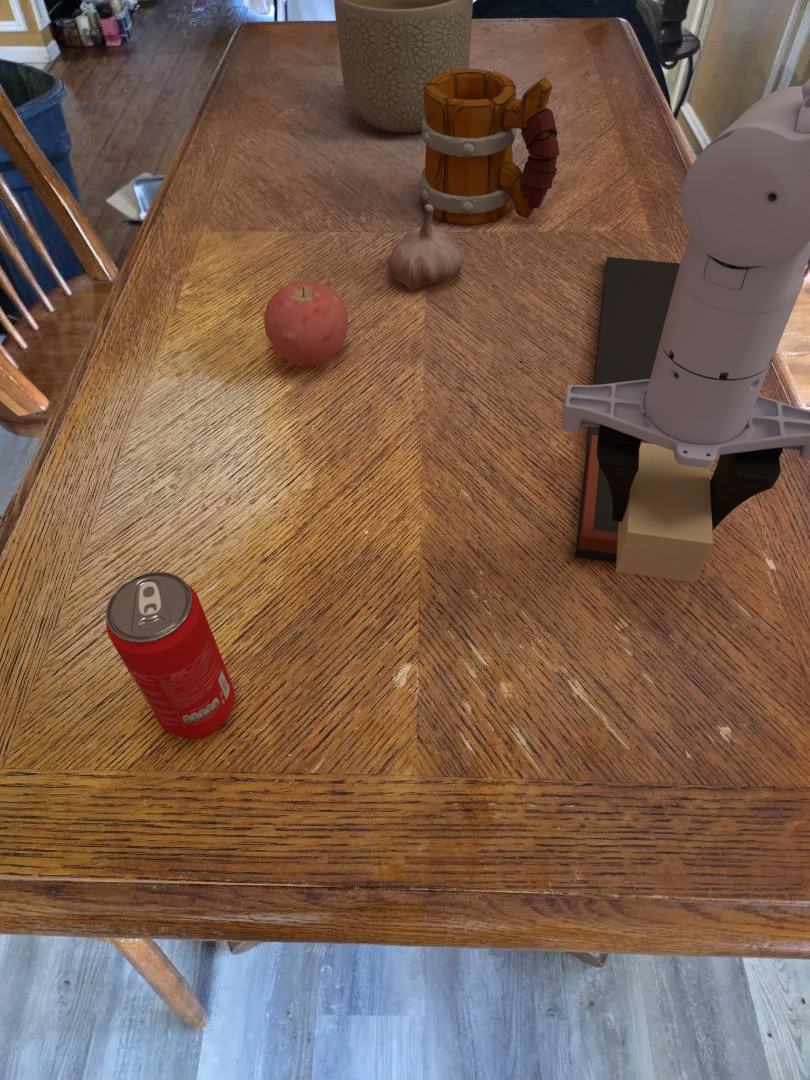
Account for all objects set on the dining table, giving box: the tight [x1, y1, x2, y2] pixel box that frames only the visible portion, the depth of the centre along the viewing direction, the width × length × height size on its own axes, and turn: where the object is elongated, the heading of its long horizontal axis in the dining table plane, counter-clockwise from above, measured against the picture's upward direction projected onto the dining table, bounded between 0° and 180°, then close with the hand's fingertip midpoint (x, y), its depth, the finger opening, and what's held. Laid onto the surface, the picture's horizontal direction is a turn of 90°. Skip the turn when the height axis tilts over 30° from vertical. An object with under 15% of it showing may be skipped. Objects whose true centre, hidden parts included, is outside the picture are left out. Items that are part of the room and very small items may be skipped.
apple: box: [263, 280, 349, 368], centre depth 74 cm, size 7×7×8 cm
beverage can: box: [105, 571, 235, 740], centre depth 49 cm, size 5×5×12 cm
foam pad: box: [615, 443, 714, 584], centre depth 53 cm, size 5×8×4 cm, turn 168°
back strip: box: [574, 256, 680, 564], centre depth 72 cm, size 8×40×2 cm, turn 168°
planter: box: [333, 0, 474, 134], centre depth 103 cm, size 17×17×15 cm
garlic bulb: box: [387, 204, 464, 289], centre depth 82 cm, size 8×7×8 cm
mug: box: [419, 68, 560, 226], centre depth 88 cm, size 11×16×15 cm, turn 56°
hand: (660, 516), depth 53 cm, fingers closed on foam pad, 5 cm apart
